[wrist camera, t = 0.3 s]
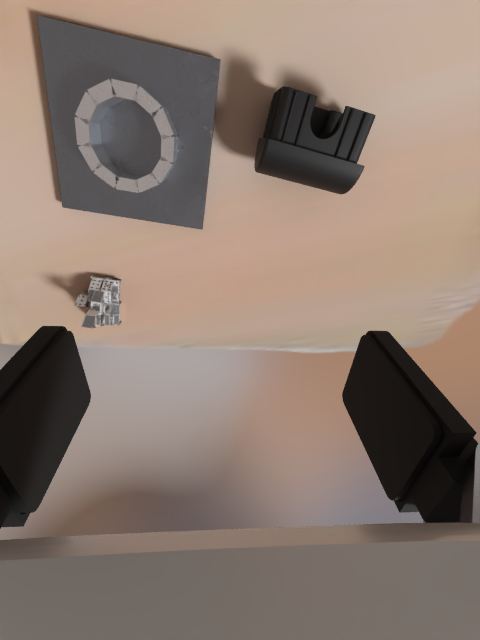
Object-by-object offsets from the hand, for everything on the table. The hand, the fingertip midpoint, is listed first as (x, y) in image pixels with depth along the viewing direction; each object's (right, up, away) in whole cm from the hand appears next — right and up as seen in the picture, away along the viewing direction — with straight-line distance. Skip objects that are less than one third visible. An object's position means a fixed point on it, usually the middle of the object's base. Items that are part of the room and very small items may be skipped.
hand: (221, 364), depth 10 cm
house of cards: (-20, +6, +31) cm, 38 cm away
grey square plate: (-11, +21, +22) cm, 32 cm away
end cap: (+8, +21, +23) cm, 32 cm away
